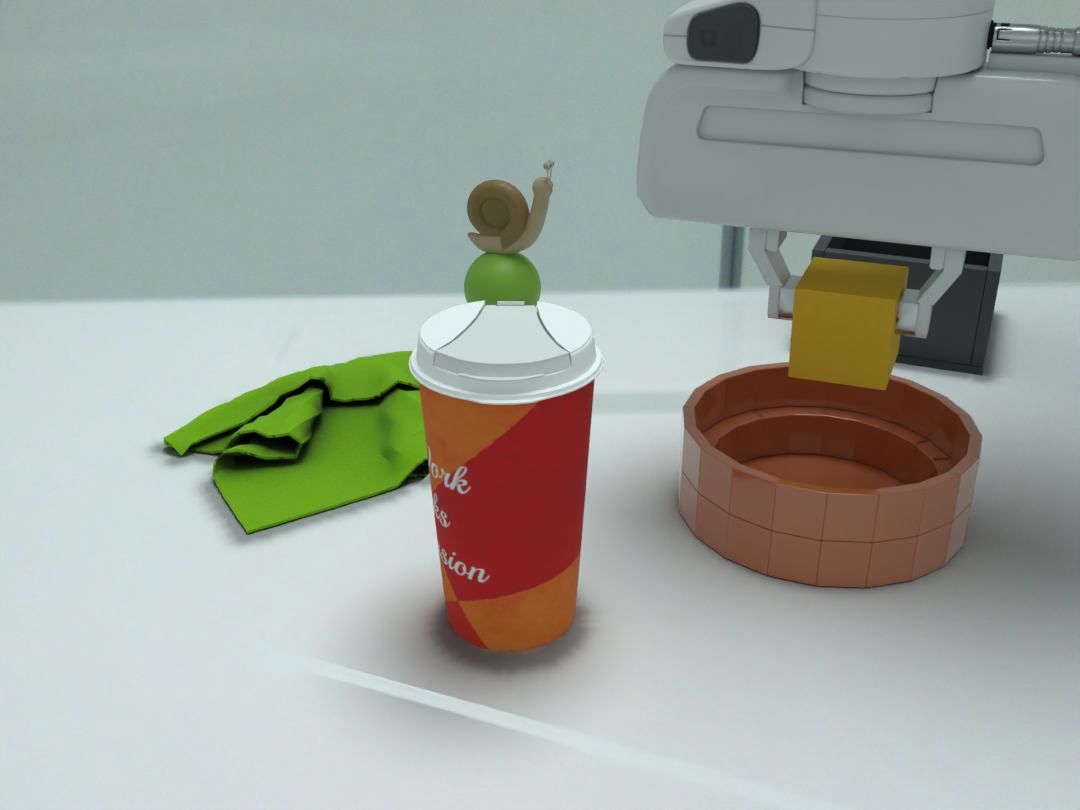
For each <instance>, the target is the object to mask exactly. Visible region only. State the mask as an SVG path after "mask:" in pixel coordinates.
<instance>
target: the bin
mask: <svg viewBox="0 0 1080 810" xmlns="http://www.w3.org/2000/svg"><path fill="white" fill-rule="evenodd" d="M819 236H820V237H818V239H817V241H816V243H815V245H814V247H813V248H812V249H811V256H810V257H811V258H810V262H811V261H812V259H813V257H821V258H830V259H840V260H849V261H859V262H868V263H878V264H887V265H897V266H906V267H909V270H908V278H907V286H906V289H915V290H920V289H921V287H922V286H923V285H924V284H925V283H926V281H927V280H928V279H929V278H930V277H931V275H932V274H933V273H934V272H935V270H934V269H931V268H930V267H929V266H930V259H931V251H932V247H930V246H920V245H911V244H901V243H891V242H882V241H872V240H862V239H853V238H843V237H833V236H824V235H819ZM1004 255H1005V254H997V253H988V252H978V251H968V250H966V256H965V261H964V265H963V269H962V273H961V274H960V276H959V277H958V278H957V279H956V280H955V281H954V282H953V284H952V285H951V286H950V287H949V288H948V289H947V290H946V292H945V293H944V294H943V295H942V296H941V297H940V298H939V300H938V301H937V302H936V303H935V304H934V305H933V306H932V313H931V319H930V325H929V330H928V333H927V337H926V338H919V337H911V336H904V335H900V343H899V351H898V355H897V358H896V361H895V364H900V365H907V366H914V367H923V368H929V369H937V370H941V371H948V372H956V373H962V374H969V375H976V376H983V372H984V367H985V362H986V357H987V356H986V355H987V351H988V345H989V340H990V335H991V328H992V324H993V319H994V314H995V313H994V312H995V308H996V302H997V296H998V291H999V285H1000V280H1001V274H1002V269H1003V261H1004V260H1003V259H1004Z"/></svg>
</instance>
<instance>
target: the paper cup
mask: <svg viewBox="0 0 1080 810" xmlns="http://www.w3.org/2000/svg"><path fill="white" fill-rule="evenodd" d="M412 351H413V352H412V354H411V356H410V360H409V368H410V372H411V373H412V375H413V376H414V378H415V379H416V380H417V381H419V388H420V396H421V405H422V413H423V422H424V430H425V439H426V448H427V456H428V465H429V481H430V489H431V498H432V507H433V515H434V524H435V531H436V532H435V533H436V539H437V541H436V542H437V549H438V557H439V562H440V563H439V564H440V565H439V566H440V573H441V580H442V588H443V596H444V602H445V611H446V616H447V620H448V624H449V625H450V627H451V629H452V630H453V632H454V633H455V634H456V635H457V636H459V637H460V638H461V639H463V640H464V641H466V642H468V643H470V644H472V645H473V646H476V647H479V648H483V649H486V650H492V651H496V652H497V651H498V652H520V651H521V652H522V651H528V650H533V649H536V648H540V647H544V646H546V645H548V644H550V643H552V642H554V641H556V640H557V639H559V638H560V637H562V636H563V635H564V634H565V633H566V632H567V631H568V630H569V629H570V627H571V626H572V624H573V622H574V619H575V614H576V606H577V596H578V587H579V575H580V566H581V565H580V564H581V554H582V553H581V552H582V541H583V529H584V518H585V517H584V516H585V505H586V492H587V480H588V467H589V466H588V465H589V456H590V453H589V452H590V444H591V443H590V442H591V430H592V429H591V428H592V417H593V405H594V404H593V403H594V391H595V380H596V378H597V377H598V376H599V375H600V373H601V372H602V370H603V368H604V364H605V363H604V362H605V360H604V359H605V358H604V354H603V352H602V350H601V349H600V346H599V345H598V344H597V343H596V342H595V335H594V330H593V328H592V326H591V325H590V323H589V321H588V320H587V319H586V318H585V317H584V316H583V315H581V314H580V313H578V312H576V311H574V310H572V309H570V308H568V307H564V306H562V305H559V304H556V303H555V304H554V303H551V302H547V301H540V300H539V301H537V305H536V307H535V306H528V305H525V302H524V301H497V305H486V306H485V300H484V301H477V302H471V303H467V302H466V303H462V304H458V305H455V306H452V307H449V308H446V309H443V310H441V311H439V312H437V313H435V314H433V315H432V316H431V317H429V318H428V319H427V320H426V321H425V322H423V325H422V326H421V328H420V329H419V332H418V336H417V345H416V346H415V347H414V348H413V350H412Z"/></svg>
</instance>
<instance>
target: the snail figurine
mask: <svg viewBox="0 0 1080 810" xmlns="http://www.w3.org/2000/svg"><path fill="white" fill-rule="evenodd" d="M554 166H555V162H554V160H553V159H547V161H545V162H544V163H543V167H542V168H543V169H544V170H545V171H546V173H547V174H546V175H547V176H539V177H537V178H535V180H533V182H532V187H531V188H532V193H533V199H532V203H531V207H530V209H529V205H528V202H527V199H526V197H525V196H524V195H523V193H522V192H521V190H519V189H518V188H517V187H516V186H515V185H513V184H511V183H510V182H508V181H505V180H502V179H487V180H485V181H482V182H481V183H478V184H477V185H476V186H475V187H474V188H473V189H472V191H470V194H469V196H468V198H467V203H466V213H467V219H468V221H469V222H470V224H471V225H472V226H473V228H474V229H475V230H476V231H477V232H474V231H470V232H467V238H468V239H469V240H470V242H471V243H472V244H473V245H474V246H475V247H476V248H477V249H479V250H480V251H482V252H484V253H482V254H480V255H479V256H478V257H477V258H476V259H475V260H474V261H473V262H472V263H471V264H470V266H469V267H468V269H467V271H466V275H465V276H464V281H463V292H464V298H465V301H466V303H471V302H477V301H484V300H485V306H486V305H497V301H524V302H525V305H528V306H535V308H537V301H540V298H541V293H542V292H541V291H542V282H541V278H540V277H541V276H540V275H539V272H538V270H537V268H536V266H535V265H534V263H533V262H532V261H531V260H530V259H529V258H528V257H527V256H525V254H522V253H521V252H523V251H526V250H527V249H529V248H530V247H532V246H533V245H534V244H535V243H536V242H537V240H538V239H539V237H540V235H541V233H542V231H543V228H544V225H545V221H546V218H547V214H548V210H549V203H550V199H551V196H552V194H553V187H554V183H553V181H552V179H551V178H552V169H553V167H554ZM549 171H550V172H549Z"/></svg>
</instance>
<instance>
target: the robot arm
mask: <svg viewBox="0 0 1080 810" xmlns="http://www.w3.org/2000/svg"><path fill="white" fill-rule="evenodd" d="M995 4H996V0H691V1H689V2H687V3H686V4H683V5H682V6H681V7H679V8H677V9H676V10H675V11H674V12H672V13H671V14H670V15H669V16H668V17H667V18H666V19H665V22H664V25H663V35H662V44H663V51H664V53H665V56H666V58H667V59H668V60H669V61H671V62H672V63H674V64H672V65H671V66H670V67H668V68H667V69H665V70H664V71H663V72H661V74H659V75H658V77H657V78H656V79H655V81H654V82H653V84H652V86H651V88H650V89H649V92H648V96H647V98H646V103H645V107H644V112H643V118H642V123H641V129H640V137H639V144H638V146H639V147H638V153H637V165H636V195H637V198H638V200H639V201H640V203H641V204H642V205H643V207H644V209H645V210H646V211H647V213H648V214H649V215H650V216H651V217H652V218H655V219H661V220H671V221H672V220H673V221H681V222H688V223H689V222H691V223H699V224H700V223H701V224H710V225H720V226H729V227H739V228H747V229H749V231H748V245H747V246H748V248H747V250H748V252H749V253H750V255H751V257H752V260H753V262H754V264H755V265H756V267H757V269H758V272H759V273H760V274H761V277H762V278H763V280H764V282H765V285H766V286H769V288H768V300H767V318H768V319H773V320H783V321H792V318H793V305H794V292H795V287H796V286H797V284H798V282H799V281H800V279H801V277H802V276H803V275H802V276H801V275H795V274H791V272H790V270H789V268H788V265H787V263H786V261H785V259H784V256H783V254H782V253H781V250H780V248H781V246H782V244H783V243H784V241H785V240H786V238H787V237H788V233H796V234H805V235H817V236H821V235H824V236H833V237H843V238H853V239H862V240H872V241H882V242H891V243H901V244H911V245H920V246H930V247H932V251H931V259H930V266H929V267H930V268H931V269H934V270H935V272H934V273H933V274H932V275H931V277H930V278H929V279H928V280H927V281H926V283H925V284H924V285H923V286H922V287H921V289H920V290H915V289H904V288H903V291H902V293H901V296H900V299H899V301H898V309H897V317H898V318H897V321H896V326H895V334H897V335H904V336H911V337H919V338H926V337H927V333H928V330H929V325H930V319H931V313H932V306H933V305H934V304H935V303H936V302H937V301H938V300H939V298H940V297H941V296H942V295H943V294H944V293H945V292H946V290H947V289H948V288H949V287H950V286H951V285H952V284H953V282H954V281H955V280H956V279H957V278H958V277H959V276H960V274H961V273H962V269H963V265H964V261H965V256H966V250H968V251H978V252H988V253H997V254H1004V255H1007V256H1008V255H1009V256H1016V257H1017V256H1018V257H1026V258H1035V259H1045V260H1046V259H1048V260H1056V261H1066V262H1079V261H1080V26H1076V28H1073V27H1064V28H1063V27H1055V26H1050V27H1049V26H1047V25H1041V24H1034V23H1013V22H1012V23H1011V22H995V21H994V19H993V17H994V11H995V6H996V5H995ZM990 48H991V49H990ZM988 50H989V54H988ZM988 56H989V57H988ZM987 57H988V58H987ZM987 59H988V60H987Z"/></svg>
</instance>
